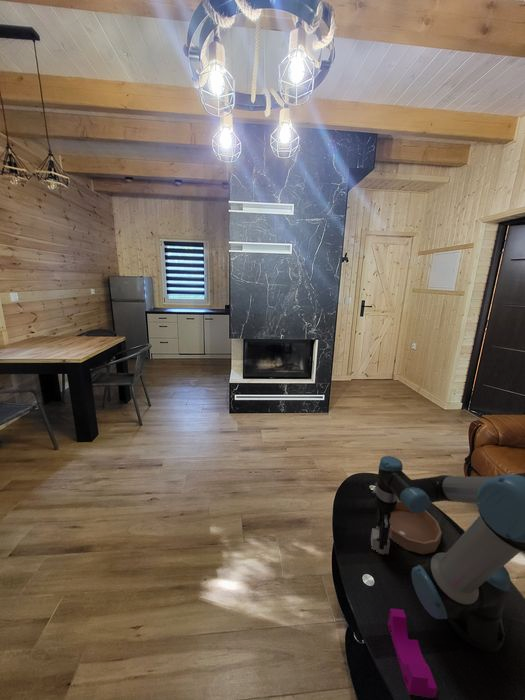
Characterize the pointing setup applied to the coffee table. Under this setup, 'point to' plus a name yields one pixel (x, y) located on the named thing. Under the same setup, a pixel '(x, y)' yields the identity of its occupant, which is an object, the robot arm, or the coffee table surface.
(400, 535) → the bowl
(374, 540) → the grey cube
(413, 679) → the toy block
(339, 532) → the coffee table surface
